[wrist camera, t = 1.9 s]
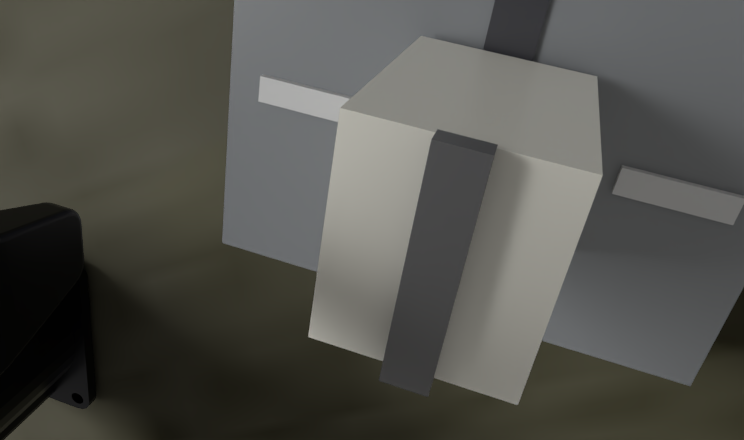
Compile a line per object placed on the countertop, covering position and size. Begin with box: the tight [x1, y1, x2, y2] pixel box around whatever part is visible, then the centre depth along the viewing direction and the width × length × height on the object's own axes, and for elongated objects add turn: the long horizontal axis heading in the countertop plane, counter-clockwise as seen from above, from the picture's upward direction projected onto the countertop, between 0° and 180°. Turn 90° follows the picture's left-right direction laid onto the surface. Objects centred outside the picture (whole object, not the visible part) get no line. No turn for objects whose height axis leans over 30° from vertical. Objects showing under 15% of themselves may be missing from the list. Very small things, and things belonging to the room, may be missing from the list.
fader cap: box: [308, 36, 603, 405], centre depth 11 cm, size 4×4×5 cm
